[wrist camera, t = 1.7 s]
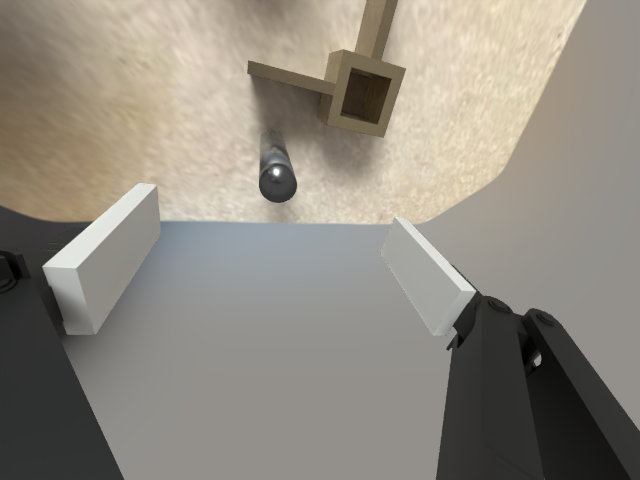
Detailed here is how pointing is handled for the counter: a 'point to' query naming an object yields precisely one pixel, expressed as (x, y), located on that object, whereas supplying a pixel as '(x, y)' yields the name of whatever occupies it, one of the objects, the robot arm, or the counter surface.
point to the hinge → (359, 62)
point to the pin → (275, 168)
